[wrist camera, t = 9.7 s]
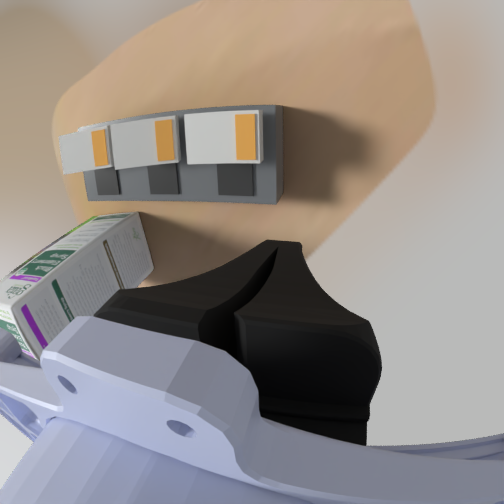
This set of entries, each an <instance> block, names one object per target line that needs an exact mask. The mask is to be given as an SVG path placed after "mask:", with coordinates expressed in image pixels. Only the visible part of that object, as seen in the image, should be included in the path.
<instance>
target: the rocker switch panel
mask: <svg viewBox="0 0 504 504" xmlns="http://www.w3.org/2000/svg"><path fill="white" fill-rule="evenodd" d="M241 110H262V111H263V156H264V160H263V161H262V162H261V163H221V164H187V152H186V137H185V121H184V114H194V113H206V112H221V111H241ZM175 115H178V120H179V135H180V149H181V160H180V161H179V162H178V163H167V164H158V165H149V166H141V167H133V168H125V169H118V170H115V166H113V167H108V168H101V169H95V170H88V171H83V173H84V179H85V186H86V192H87V197H88V201H201V202H232V203H255V204H275V205H276V204H277V203H278V201H279V199H280V197H281V195H282V194H283V106H280V105H247V106H226V107H211V108H199V109H188V110H179V111H171V112H163V113H155V114H148V115H142V116H136V117H130V118H124V119H118V120H113V121H108V122H103V123H98V124H94V125H89V126H85V127H80V128H78V132H79V131H83V130H88V129H93V128H98V127H103V126H108V125H113V124H118V123H124V122H130V121H137V120H143V119H150V118H158V117H166V116H175Z"/></svg>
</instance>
